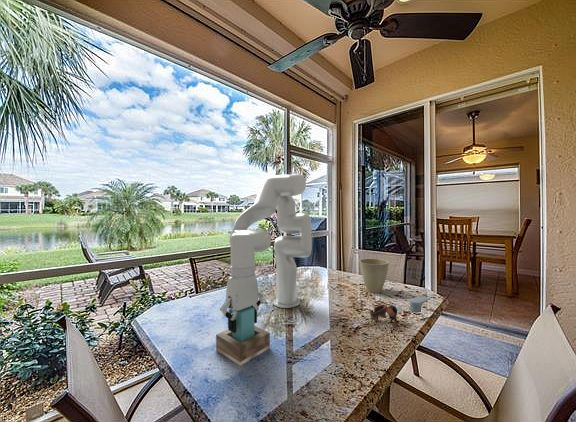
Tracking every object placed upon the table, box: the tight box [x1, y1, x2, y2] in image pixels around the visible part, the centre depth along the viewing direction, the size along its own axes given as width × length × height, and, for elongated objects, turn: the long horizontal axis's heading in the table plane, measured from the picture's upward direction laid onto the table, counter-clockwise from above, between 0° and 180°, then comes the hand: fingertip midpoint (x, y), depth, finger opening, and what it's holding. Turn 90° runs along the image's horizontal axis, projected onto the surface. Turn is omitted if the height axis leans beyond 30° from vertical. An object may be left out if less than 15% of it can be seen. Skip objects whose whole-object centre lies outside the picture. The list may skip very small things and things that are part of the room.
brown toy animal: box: [369, 303, 399, 329], centre depth 100 cm, size 12×10×8 cm
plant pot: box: [359, 258, 390, 294], centre depth 137 cm, size 15×15×16 cm
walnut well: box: [215, 325, 271, 366], centre depth 81 cm, size 12×12×5 cm
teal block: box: [232, 307, 255, 343], centre depth 81 cm, size 5×5×12 cm
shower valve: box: [396, 296, 437, 316], centre depth 110 cm, size 12×6×15 cm
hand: (243, 326), depth 81 cm, fingers open, 7 cm apart
